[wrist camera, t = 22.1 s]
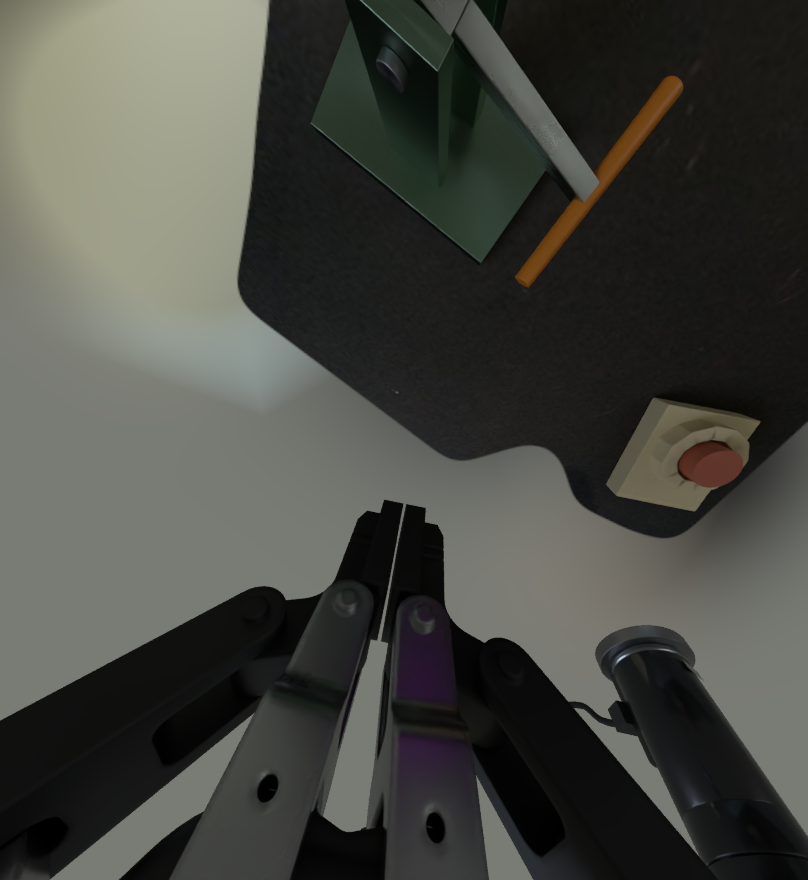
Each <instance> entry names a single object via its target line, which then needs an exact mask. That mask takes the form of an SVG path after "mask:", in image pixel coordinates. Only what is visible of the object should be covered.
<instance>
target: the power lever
mask: <svg viewBox="0 0 808 880" xmlns="http://www.w3.org/2000/svg"><path fill="white" fill-rule="evenodd" d="M414 1H415V2H416V3H417V4H418V5H419V6H420V7H421V8H422V9H423V10H424V11H425V12H426V13H427V14H428V15H429V16H430V17H431V18H432V19H433V20H434V21H436V22H437V23H438V24H439V25H440V26H441V27H442V28H443V29H444V30H445V31H446V32H447V33H448V34H449V35H450V36H451V37H452V38H453V39H454V50H453V51H454V52H455V53H456V55H457V56H458V57H459V58H460V60H461V61H462V62H463V64H464V65H465V66H466V67H467V69H468V70H469V71H470V73H471V74H472V75H473V76H474V78H475V79H476V80H477V82H478V83H479V84H480V86H481V87H482V88H483V89H484V91H485V92H486V93H487V95H488V96H489V97H490V98H491V100H492V101H493V102H494V104H495V105H496V106H497V107H498V109H499V110H500V111H501V113H502V114H503V115H504V116H505V118H506V119H507V120H508V122H509V123H510V124H511V125H512V127H513V128H514V129H515V131H516V132H517V133H518V135H519V136H520V137H521V138H522V140H523V141H524V142H525V144H526V145H527V146H528V147H529V149H530V150H531V151H532V153H533V154H534V155H535V156H536V158H537V159H538V160H539V162H540V163H541V164H542V165H543V167H544V168H545V169H546V171H547V172H548V173H549V174H550V176H551V177H552V178H553V180H554V181H555V182H556V184H557V185H558V186H559V187H560V189H561V190H562V191H563V193H564V194H565V195H566V196H567V198H568V199H569V200H570V202H571V203H570V204H569V206H568V207H567V208H566V210H565V211H564V212H563V214H562V215H561V216H560V218H559V219H558V220H557V222H556V223H555V224H554V226H553V227H552V228H551V230H550V231H549V232H548V234H547V235H546V236H545V238H544V239H543V240H542V242H541V243H540V244H539V246H538V247H537V248H536V249H535V251H534V252H533V253H532V255H531V256H530V257H529V259H528V260H527V261H526V263H525V264H524V265H523V267H522V268H521V269H520V271H519V272H518V273H517V275H516V276H515V278H516V280H517V281H518V282H519V283H521V284H522V285H523V286H525V287H528V288H529V287H530V286H531V284H532V283H533V282H534V280H535V279H536V278H537V277H538V275H539V274H540V273H541V272H542V270H543V269H544V268H545V266H546V265H547V264H548V263H549V261H550V260H551V259H552V258H553V256H554V255H555V254H556V252H557V251H558V250H559V249H560V247H561V246H562V245H563V244H564V242H565V241H566V240H567V238H568V237H569V236H570V235H571V233H572V232H573V231H574V230H575V228H576V227H577V226H578V224H579V223H580V222H581V221H582V219H583V218H584V217H585V216H586V214H587V213H588V212H589V210H590V209H591V208H592V207H593V205H594V204H595V203H596V201H597V200H598V199H599V198H600V196H601V195H602V194H603V193H604V191H605V190H606V189H607V187H608V186H609V185H610V184H611V182H612V181H613V180H614V179H615V177H616V176H617V175H618V173H619V172H620V171H621V170H622V168H623V167H624V166H625V165H626V163H627V162H628V161H629V159H630V158H631V157H632V156H633V154H634V153H635V152H636V151H637V149H638V148H639V147H640V145H641V144H642V143H643V142H644V140H645V139H646V138H647V137H648V135H649V134H650V133H651V131H652V130H653V129H654V128H655V126H656V125H657V124H658V123H659V121H660V120H661V119H662V117H663V116H664V115H665V114H666V112H667V111H668V110H669V108H670V107H671V106H672V105H673V103H674V102H675V101H676V100H677V98H678V97H679V96H680V94H681V93H682V90H683V84H682V81H681V80H680V79H679V78H678V77H676V76H668V77H666V78H665V79H664V80H663V81H662V82H661V84H660V85H659V86H658V87H657V89H656V90H655V91H654V93H653V94H652V95H651V97H650V98H649V99H648V101H647V102H646V103H645V105H644V106H643V107H642V109H641V110H640V111H639V113H638V114H637V115H636V117H635V118H634V119H633V121H632V122H631V123H630V125H629V126H628V127H627V129H626V130H625V131H624V133H623V134H622V135H621V137H620V138H619V139H618V141H617V142H616V143H615V145H614V146H613V147H612V149H611V150H610V151H609V153H608V154H607V155H606V157H605V158H604V159H603V161H602V162H601V163H600V165H599V166H598V167H597V168H596V170H595V171H594V172H593V171H592V170H591V168H590V167H589V166H588V164H587V163H586V161H585V160H584V158H583V157H582V155H581V154H580V153H579V151H578V150H577V148H576V147H575V145H574V144H573V142H572V141H571V140H570V138H569V137H568V135H567V134H566V132H565V131H564V129H563V128H562V126H561V125H560V124H559V122H558V121H557V119H556V118H555V116H554V115H553V113H552V112H551V111H550V109H549V108H548V106H547V105H546V103H545V102H544V100H543V99H542V98H541V96H540V95H539V93H538V92H537V90H536V89H535V87H534V86H533V85H532V83H531V82H530V80H529V79H528V77H527V76H526V74H525V73H524V72H523V70H522V69H521V67H520V66H519V64H518V63H517V61H516V60H515V59H514V57H513V56H512V54H511V53H510V51H509V50H508V48H507V47H506V45H505V44H504V43H503V41H502V40H501V38H500V37H499V35H498V34H497V32H496V31H495V30H494V28H493V27H492V25H491V24H490V22H489V21H488V19H487V18H486V17H485V15H484V14H483V12H482V11H481V9H480V8H479V6H478V5H477V4H476V2H475V1H474V0H414Z"/></svg>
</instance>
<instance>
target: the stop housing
mask: <svg viewBox="0 0 808 880" xmlns="http://www.w3.org/2000/svg"><path fill="white" fill-rule="evenodd" d="M759 423H760V421H758V420H755V419H753V418H750V417H747V416H745V415H742V414H739V413H734V412H729V411H724V410H718V409H713V408H708V407H702V406H697V405H692V404H686V403H681V402H676V401H670V400H665V399H660V398H655V397H654V398H653V399H652V401H651V403H650V404H649V406H648V408H647V410H646V412H645V414H644V415H643V417H642V419H641V421H640V423H639V425H638V426H637V428H636V430H635V432H634V434H633V436H632V437H631V439H630V441H629V443H628V445H627V447H626V448H625V450H624V452H623V454H622V456H621V458H620V459H619V461H618V463H617V465H616V467H615V469H614V470H613V472H612V474H611V476H610V478H609V480H608V481H607V483H606V485H607V486H608V487H609V488H610V489H611V490H612V492H613V493H614V494H615V495H616V496H619V497H625V498H630V499H635V500H640V501H645V502H650V503H655V504H660V505H665V506H670V507H675V508H680V509H685V510H690V511H696V509H697V508H698V507H699V505H700V504H701V502H702V501H703V500H704V498H705V497H706V496H707V494H708V493H709V492H710V490H713V489H716V488H718V487H713V488H708V487H702V486H700V485H698V484H696V483H695V482H694V481H692V480H691V479H689V478H688V477H686V476H685V475H684V474H682V473H681V471H680V470H679V466H678V463H679V459H680V458H681V456H682V455H683V453H684V452H685V451H686V450H687V449H689V448H691V447H692V446H694V445H696V444H698V443H702V442H715V443H718V444H720V445H722V446H724V447H726V448H728V449H730V450H732V451H734V452H736V453H738V454H739V455H740V456H741V457H742V459H743V467H744V465H745V464H746V463H747V461H748V456H749V442H748V441H747V440H748V438H749V437H750V436H751V434H752V433H753V432H754V430H755V429H756V428H757V426H758V425H759ZM719 487H720V486H719Z"/></svg>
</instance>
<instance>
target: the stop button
mask: <svg viewBox="0 0 808 880" xmlns="http://www.w3.org/2000/svg"><path fill="white" fill-rule="evenodd" d="M678 466H679V470H680V471H681V473H682V474H684V475H685V476H686V477H688V478H689V479H691V480H692V481H694V482H695V483H696V484H698V485H700V486H702V487H708V488H713V487H719V486H722V485H725V484H727V483H729V482H731V481H732V480H733V479H735V478H736V477H737V476H738V475H739V473H740V472H741V470H742V468H743V459H742V457H741V456H740V455H739V454H738V453H736V452H734V451H732V450H730V449H728V448H726V447H724V446H722V445H720V444H718V443H715V442H702V443H698V444H696V445H694V446H692V447H691V448H689V449H687V450H686V451H685V452H684V453H683V455H682V456H681V458H680V459H679V463H678Z"/></svg>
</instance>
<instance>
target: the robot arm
mask: <svg viewBox="0 0 808 880" xmlns="http://www.w3.org/2000/svg"><path fill="white" fill-rule="evenodd" d="M402 508H403V503H398V502H393V501H388V500H384V502H383V506H382V509H381V513H375V512H371V511H366V512H365V513H364V514H363V515H362V516H361V517H360V518H358V521H357V523H356V526H355V528H354V532H353V533H352V536H351V539H350V542H349V544H348V547H347V549H346V552H345V555H344V557H343V560H342V563H341V565H340V568H339V570H338V573H337V576H336V578H335V580H334V582H333V583H332V585H330V586H329V587H328V588H327V589H326V590H325V591H324V592H322V593H321V594H318V595H316V596H313V597H310V598H305V599H295V600H285V597H284V596H283V594H282V593H281V592H280V591H278V590H277V589H275V588H272V587H266V586H262V587H255V588H251V589H248V590H246V591H245V592H242V593H240V594H238V595H237V596H235V597H233V598H231V599H229V600H227V601H225V602H223V603H222V604H219V605H218V606H216V607H214V608H212V609H210V610H208V611H206V612H205V613H203V614H201V615H199V616H197V617H195V618H193V619H191V620H189V621H188V622H186V623H184V624H182V625H180V626H178V627H176V628H174V629H173V630H171V631H169V632H167V633H165V634H163V635H161V636H159V637H157V638H155V639H153V640H152V641H150V642H148V643H146V644H144V645H142V646H141V647H138V648H137V649H135V650H133V651H131V652H129V653H127V654H125V655H123V656H121V657H119V658H118V659H116V660H114V661H112V662H110V663H108V664H106V665H104V666H103V667H101V668H99V669H97V670H95V671H93V672H91V673H90V674H88V675H86V676H84V677H82V678H80V679H78V680H76V681H74V682H72V683H71V684H69V685H67V686H65V687H63V688H61V689H59V690H57V691H56V692H53V693H52V694H50V695H48V696H46V697H44V698H42V699H40V700H38V701H36V702H35V703H33V704H31V705H29V706H27V707H25V708H23V709H21V710H20V711H18V712H16V713H14V714H12V715H10V716H8V717H6V718H4V719H3V720H1V721H0V880H50V879H51V878H52V877H53V876H55V875H56V874H57V873H58V872H60V871H61V870H62V869H63V868H64V867H66V866H67V865H68V864H69V863H70V862H72V861H73V860H74V859H75V858H77V857H78V856H79V855H80V854H82V853H83V852H84V851H85V850H87V849H88V848H89V847H90V846H91V845H93V844H94V843H95V842H96V841H98V840H99V839H100V838H101V837H102V836H104V835H105V834H106V833H107V832H109V831H110V830H111V829H112V828H113V827H115V826H116V825H117V824H118V823H120V822H121V821H122V820H123V819H125V818H126V817H127V816H128V815H130V814H131V813H132V812H133V811H134V810H136V809H137V808H138V807H139V806H140V805H142V804H143V803H144V802H145V801H147V800H148V799H149V798H150V797H152V796H153V795H154V794H155V793H157V792H158V790H160V789H161V788H163V787H164V786H165V785H166V784H168V783H169V782H170V781H171V780H172V779H174V778H175V777H176V776H177V775H178V774H180V773H181V772H182V771H183V770H185V769H186V768H187V767H188V766H190V765H191V764H192V763H193V762H194V761H196V760H197V759H198V758H199V757H201V756H202V755H203V754H204V753H206V752H207V751H208V750H209V749H210V748H211V747H213V746H214V745H215V744H216V743H218V742H219V741H220V740H221V739H223V738H224V737H225V736H226V735H228V734H229V733H230V732H231V731H232V730H234V729H235V728H236V727H237V726H239V725H240V724H241V723H242V722H244V721H245V720H246V719H247V718H248V717H250V716H251V715H252V714H253V713H254V715H253V717H252V719H251V721H250V723H249V725H248V727H247V729H246V731H245V733H244V735H243V737H242V739H241V741H240V742H239V744H238V746H237V748H236V751H235V752H234V754H233V756H232V758H231V760H230V762H229V764H228V766H227V768H226V770H225V772H224V774H223V776H222V778H221V779H220V782H219V784H218V785H217V787H216V789H215V791H214V793H213V795H212V797H211V799H210V801H209V803H208V805H207V807H206V809H205V811H204V812H202V813H200V814H198V815H196V816H194V817H193V818H191V819H190V820H188V821H187V822H185V823H184V824H182V825H181V826H179V827H178V828H176V829H175V830H174V831H173V832H171V833H170V834H169V835H167V836H166V837H165V838H164V839H162V840H161V841H160V842H159V843H158V844H157V845H155V846H154V847H153V848H152V849H151V850H150V851H149V852H148V853H147V854H146V855H145V856H144V857H143V858H141V859H140V860H139V861H138V862H137V863H136V864H135V865H134V866H133V867H132V868H131V869H130V870H129V871H128V872H127V873H126V874H125V875H124V876H122V878H120V879H119V880H489V877H488V869H487V860H486V852H485V845H484V837H483V829H482V821H481V812H480V804H479V796H478V788H477V781H476V776H477V777H478V779H479V781H480V783H481V785H482V786H483V788H484V790H485V792H486V794H487V796H488V797H489V799H490V801H491V803H492V805H493V807H494V808H495V810H496V812H497V814H498V816H499V817H500V819H501V821H502V823H503V825H504V827H505V829H506V830H507V832H508V834H509V836H510V838H511V839H512V841H513V843H514V845H515V847H516V849H517V850H518V852H519V854H520V856H521V858H522V860H523V861H524V863H525V865H526V867H527V869H528V871H529V872H530V874H531V876H532V878H533V879H534V880H808V836H807V835H806V833H805V832H804V830H803V829H802V828H801V826H800V825H799V823H798V822H797V820H796V819H795V818H794V816H793V815H792V813H791V812H790V810H789V809H788V808H787V806H786V805H785V803H784V802H783V800H782V799H781V797H780V796H779V794H778V793H777V792H776V790H775V789H774V787H773V786H772V785H771V783H770V782H769V780H768V779H767V777H766V776H765V774H764V773H763V771H762V770H761V768H760V767H759V766H758V764H757V763H756V761H755V760H754V758H753V757H752V755H751V754H750V753H749V751H748V750H747V748H746V747H745V745H744V744H743V742H742V741H741V740H740V738H739V737H738V735H737V734H736V732H735V731H734V730H733V728H732V726H731V725H730V724H729V722H728V721H727V719H726V718H725V716H724V715H723V713H722V712H721V711H720V709H719V708H718V706H717V705H716V703H715V702H714V700H713V699H712V697H711V696H710V695H709V693H708V692H707V690H706V689H705V688H704V686H703V684H702V683H701V681H700V680H699V679H698V677H699V678H701V677H700V675H699V674H698V672H697V671H695V670H694V669H693V668H692V667H691V666H690V665H689V663H688V661H687V660H686V658H685V657H684V655H683V654H682V653H681V652H680V651H679V650H678V649H676V648H674V647H672V646H669V645H665V644H659V643H644V644H638V645H633V646H630V647H627V648H625V649H623V650H621V651H620V652H618V653H617V654H616V655H615V656H614V657H613V658H612V660H611V662H610V669H611V671H612V675H611V676H610V677H611V679H612V681H613V683H614V685H615V688H616V690H617V692H618V694H619V697H620V699H621V701H622V702H621V701H615V702H614V703H613V704H612V705H611V707H610V708H609V709H608V711H609V713H610V716H611V718H612V720H611V719H606V718H603V717H601V716H599V715H598V714H597V713H595V712H594V711H593V710H592V709H591V708H590V707H589V706H587V705H586V704H584V703H581V702H568V701H567V700H566V699H565V697H564V696H563V695H562V694H561V693H560V692H559V690H558V689H557V688H556V687H555V686H554V684H553V683H552V682H551V681H550V680H549V678H548V677H547V676H546V675H545V674H544V673H543V671H542V670H541V669H540V668H539V667H538V665H537V664H536V663H535V662H534V661H533V660H532V658H531V657H530V656H529V655H528V654H527V653H526V652H525V651H524V649H522V648H521V647H520V646H519V645H517V644H516V643H514V642H512V641H510V640H508V639H505V638H492V639H490V640H488V641H487V642H486V643H483V642H482V641H480V640H478V639H476V638H475V637H473V636H471V635H469V634H468V633H466V632H464V631H463V630H462V629H460V628H459V627H458V626H457V625H456V624H455V623H454V622H453V621H452V619H451V618H450V616H449V614H448V613H447V610H446V607H445V601H444V561H443V559H444V551H443V548H444V546H443V535H442V533H441V531H440V529H439V527H438V525H435V524H430V523H425V512H426V508H423V507H418V506H413V505H408V504H406V508H405V513H404V518H403V522H402V527H401V532H400V538H399V542H398V548H397V553H396V559H395V564H394V570H393V576H392V582H391V588H390V593H389V599H388V606H387V610H386V616H385V622H384V628H383V634H382V639H381V641H382V642H386V643H388V648H387V655H386V661H385V665H384V670H383V675H382V685H381V696H380V707H379V718H378V729H377V740H376V751H375V761H374V770H373V777H372V783H371V790H370V798H369V806H368V816H367V826H366V827H365V828H362V829H361V830H360V831H354V832H345V831H342V830H340V829H339V828H338V827H336V826H335V825H333V824H332V823H331V822H329V821H328V820H327V819H325V818H324V817H323V814H324V810H325V806H326V802H327V799H328V795H329V791H330V787H331V783H332V779H333V775H334V771H335V767H336V763H337V759H338V755H339V751H340V748H341V744H342V740H343V737H344V733H345V730H346V726H347V722H348V718H349V715H350V711H351V708H352V704H353V701H354V697H355V694H356V690H357V686H358V683H359V679H360V675H361V672H362V668H363V666H364V664H365V662H366V659H367V654H368V649H369V645H370V640H371V639H372V640H377V638H378V634H379V629H380V624H381V619H382V614H383V609H384V604H385V600H386V595H387V590H388V585H389V579H390V573H391V569H392V563H393V558H394V552H395V547H396V541H397V535H398V530H399V524H400V519H401V513H402ZM696 675H697V676H698V677H697V676H696ZM701 679H702V678H701ZM574 708H580V709H584V710H586V711H587V712H588V713H589V714H590V715H591V716H592V717H593V718H595V719H596V720H597V721H598V722H600V723H602V724H605V725H607V726H611V727H616V730H617V732H621V733H625V734H630V735H634V736H638V738H639V740H640V742H641V744H642V746H643V749H644V751H645V753H646V755H647V758H648V760H649V761H650V763H651V764H652V765H653V766H654V767H656V768H658V770H659V772H660V774H661V776H662V778H663V780H664V782H665V784H666V786H667V789H668V790H669V793H670V795H671V797H672V799H673V801H674V804H675V806H676V808H677V810H678V812H679V814H680V816H681V819H682V820H683V822H684V825H685V827H686V829H687V831H688V833H689V835H690V837H691V839H692V842H693V844H694V846H695V848H696V850H697V852H698V854H699V856H698V855H697V854H696V853H695V851H694V850H693V849H692V848H691V847H690V845H689V844H688V843H687V842H686V841H685V840H684V838H683V837H682V836H681V835H680V834H679V832H678V831H677V830H676V829H675V828H674V827H673V825H672V824H671V823H670V822H669V821H668V819H667V818H666V817H665V816H664V815H663V813H662V812H661V811H660V810H659V809H658V808H657V806H656V805H655V804H654V803H653V802H652V800H651V799H650V798H649V797H648V796H647V794H646V793H645V792H644V791H643V790H642V789H641V787H640V786H639V785H638V784H637V783H636V782H635V780H634V779H633V778H632V777H631V776H630V774H628V772H627V771H626V770H625V769H624V767H623V766H622V765H621V764H620V763H619V761H617V759H616V758H615V757H614V756H613V754H612V753H611V752H610V751H609V750H608V748H607V747H606V746H605V745H604V744H603V742H602V741H601V740H600V739H599V738H598V736H597V735H596V734H595V733H594V732H593V731H592V730H591V728H590V727H589V726H588V725H587V723H586V722H585V721H584V720H583V719H582V718H581V716H580V715H579V714H578V713H577V712H576V711H575V709H574Z"/></svg>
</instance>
